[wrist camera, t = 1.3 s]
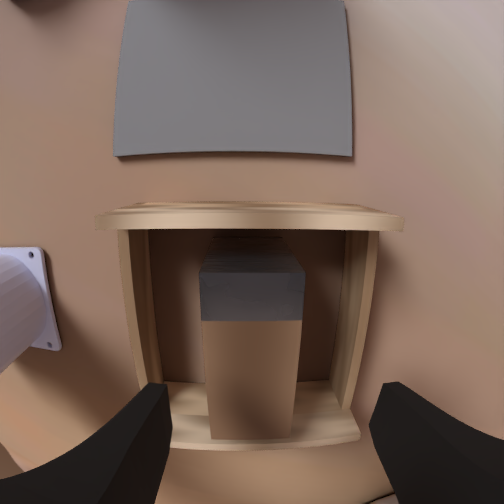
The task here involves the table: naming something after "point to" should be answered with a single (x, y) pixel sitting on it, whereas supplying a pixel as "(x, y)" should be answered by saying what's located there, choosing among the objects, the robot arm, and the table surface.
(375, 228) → the wooden cubby shelf
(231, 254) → the brown and grey block
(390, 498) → the chamber pot
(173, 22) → the slate mat
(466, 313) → the table surface
